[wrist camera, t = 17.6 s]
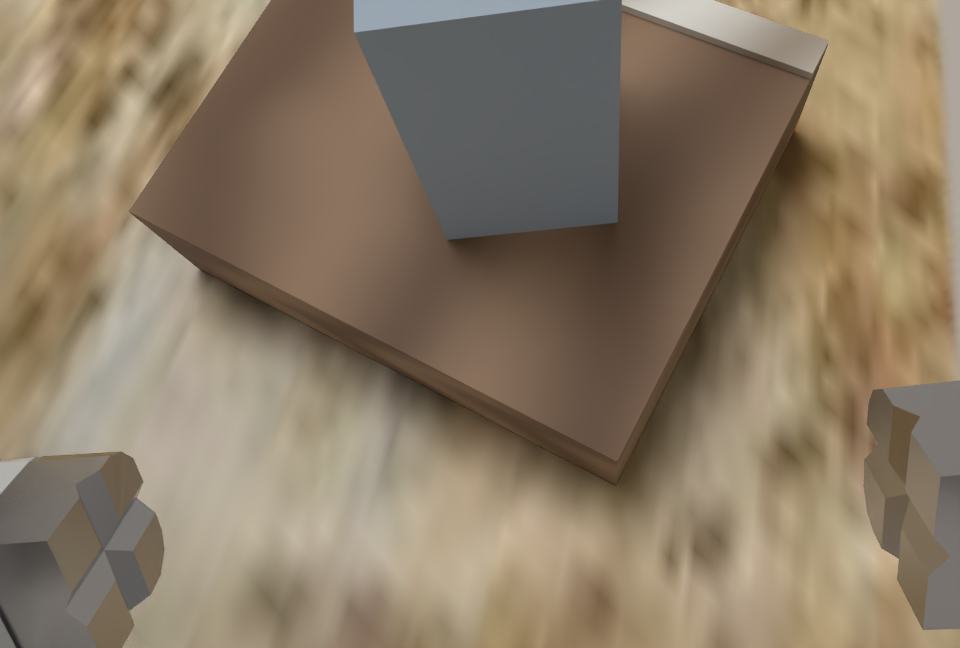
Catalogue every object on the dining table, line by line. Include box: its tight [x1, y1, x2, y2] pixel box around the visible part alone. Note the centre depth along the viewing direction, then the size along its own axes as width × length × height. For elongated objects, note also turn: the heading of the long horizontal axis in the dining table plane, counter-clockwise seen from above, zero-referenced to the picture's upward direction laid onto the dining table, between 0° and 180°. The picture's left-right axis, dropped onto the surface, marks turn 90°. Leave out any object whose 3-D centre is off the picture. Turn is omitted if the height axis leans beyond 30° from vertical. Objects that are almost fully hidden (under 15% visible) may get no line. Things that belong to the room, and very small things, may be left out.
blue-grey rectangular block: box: [354, 0, 622, 240], centre depth 22 cm, size 5×5×10 cm
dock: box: [129, 0, 829, 486], centre depth 29 cm, size 17×14×5 cm
